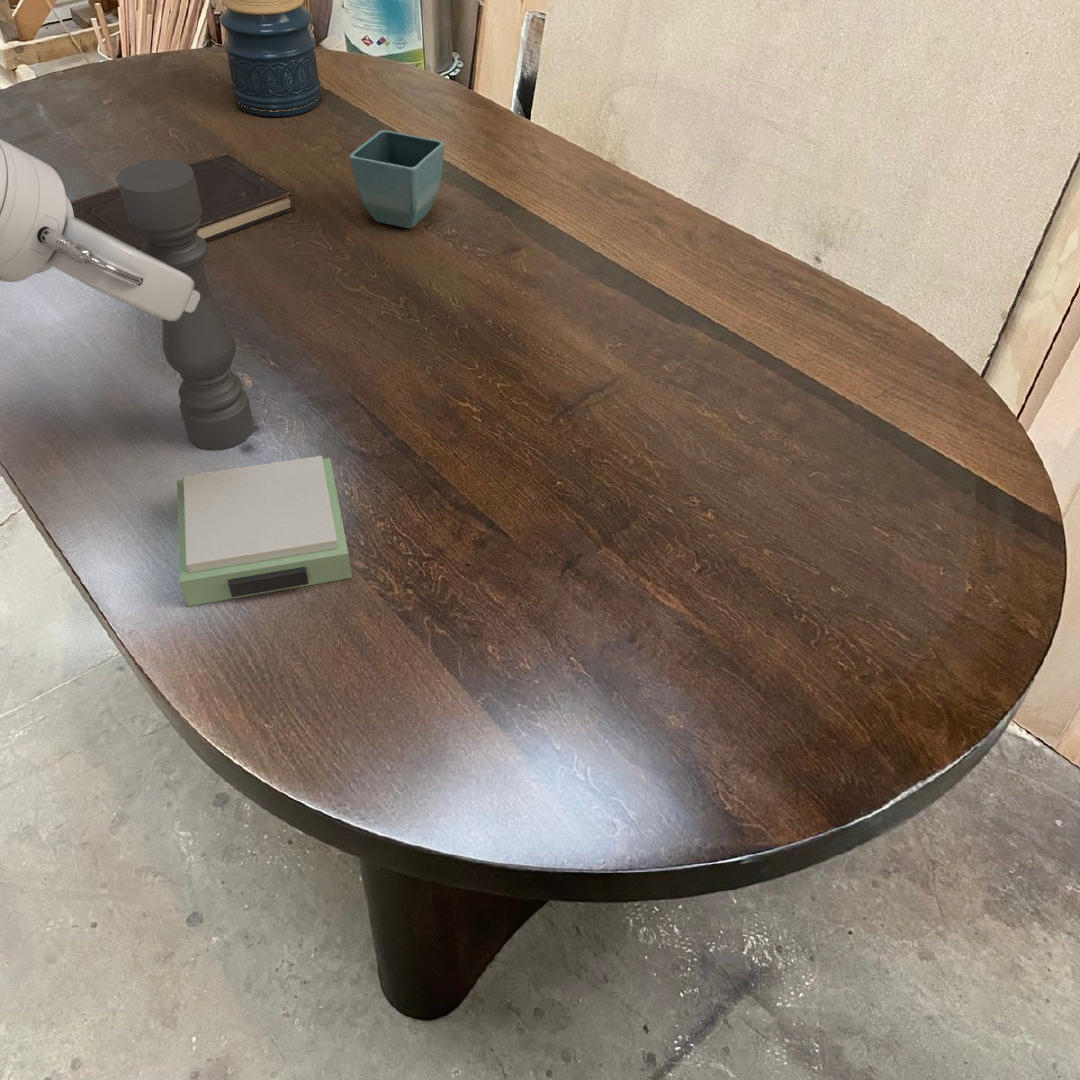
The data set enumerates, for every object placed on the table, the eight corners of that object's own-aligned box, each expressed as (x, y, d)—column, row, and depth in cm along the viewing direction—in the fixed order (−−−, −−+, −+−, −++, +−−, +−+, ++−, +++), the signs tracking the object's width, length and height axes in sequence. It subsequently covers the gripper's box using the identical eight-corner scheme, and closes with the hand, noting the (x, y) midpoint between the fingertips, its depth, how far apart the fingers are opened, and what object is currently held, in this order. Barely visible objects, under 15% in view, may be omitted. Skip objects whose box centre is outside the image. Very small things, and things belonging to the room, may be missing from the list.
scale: (188, 611, 76) (176, 577, 73) (184, 505, 84) (174, 471, 82) (353, 582, 79) (347, 548, 76) (334, 482, 87) (328, 448, 84)
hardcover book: (294, 210, 123) (291, 193, 121) (126, 271, 111) (120, 253, 109) (226, 167, 130) (222, 151, 129) (62, 221, 118) (56, 203, 117)
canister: (304, 79, 153) (288, -47, 140) (335, 109, 145) (320, -21, 132) (223, 93, 148) (199, -37, 135) (250, 124, 140) (227, -9, 127)
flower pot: (386, 196, 126) (381, 127, 120) (448, 209, 124) (446, 140, 118) (354, 226, 120) (347, 155, 114) (418, 240, 118) (414, 169, 112)
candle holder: (239, 454, 89) (176, 198, 72) (176, 445, 90) (97, 189, 72) (263, 413, 94) (209, 162, 76) (202, 405, 94) (135, 154, 76)
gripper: (115, 217, 62) (257, 289, 74) (-64, 128, 70) (92, 207, 82) (75, 307, 62) (223, 363, 75) (-97, 209, 70) (63, 274, 83)
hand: (153, 281), depth 79 cm, fingers open, 8 cm apart
